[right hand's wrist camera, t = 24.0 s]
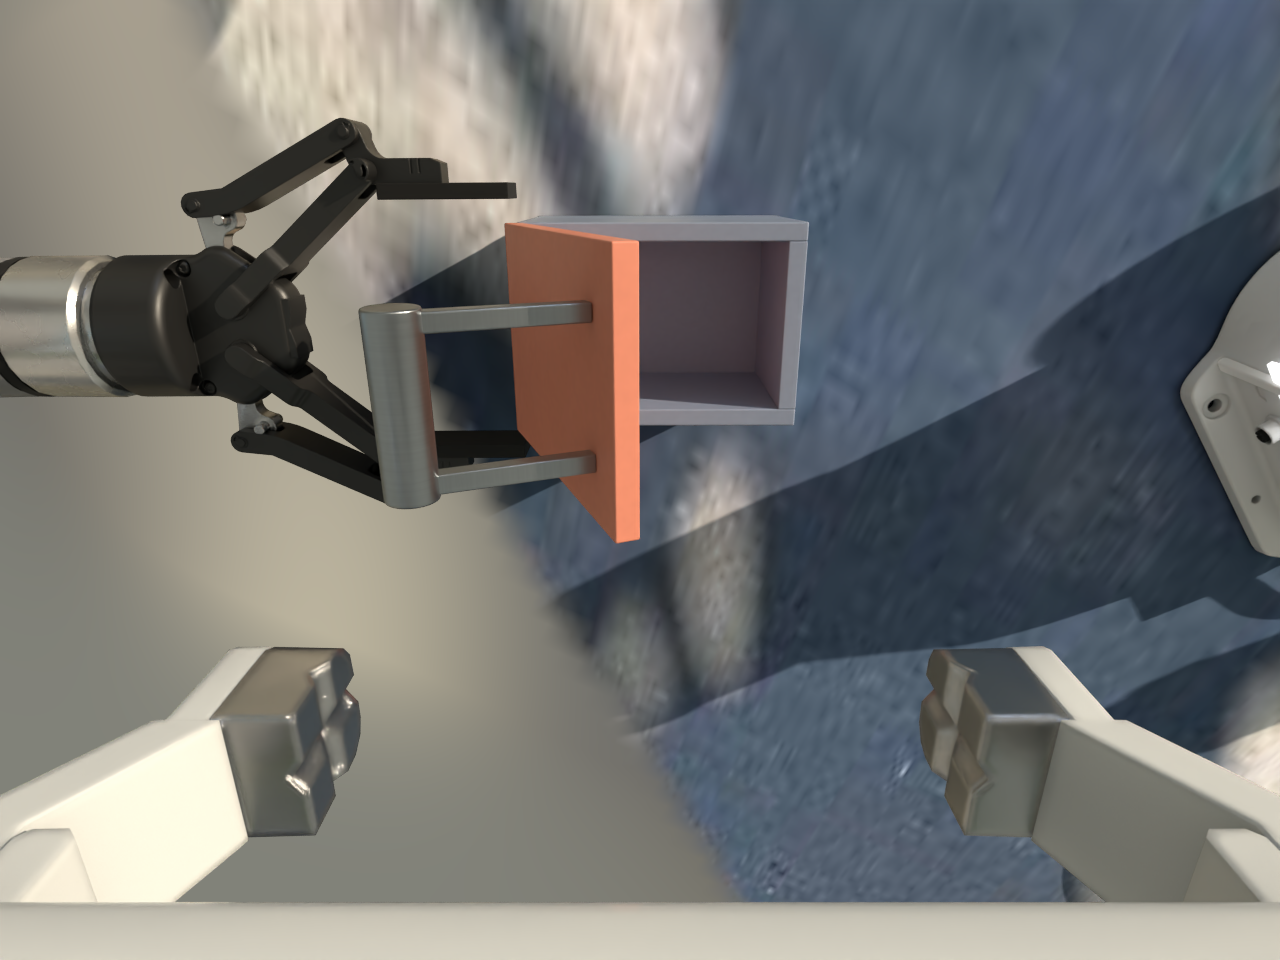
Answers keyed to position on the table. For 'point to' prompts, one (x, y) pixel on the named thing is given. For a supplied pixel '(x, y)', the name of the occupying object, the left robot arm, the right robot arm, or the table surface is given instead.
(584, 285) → the lid
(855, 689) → the table surface
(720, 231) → the chest
